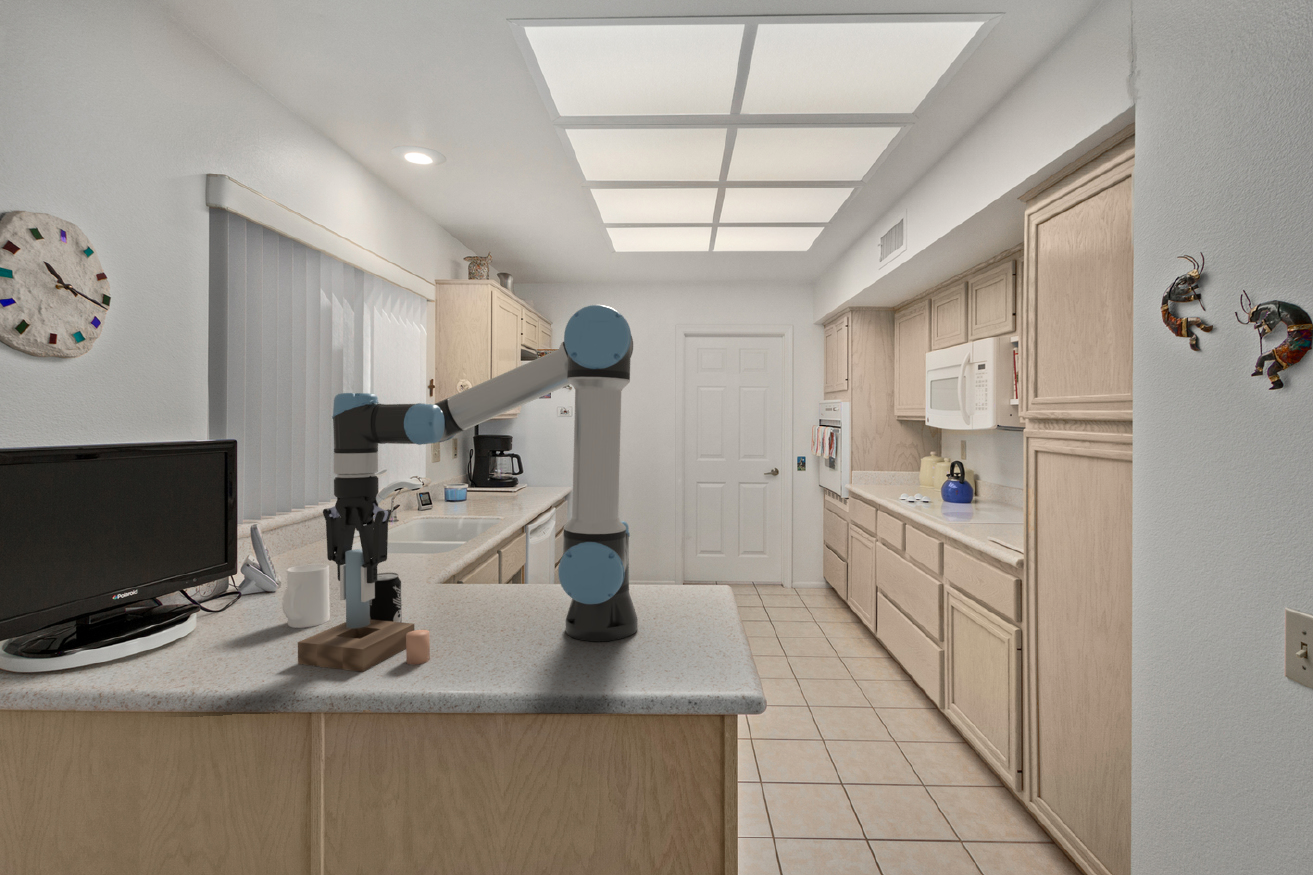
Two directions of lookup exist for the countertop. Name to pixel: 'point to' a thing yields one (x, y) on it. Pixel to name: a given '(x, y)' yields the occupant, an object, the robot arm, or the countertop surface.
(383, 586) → the beverage can
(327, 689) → the countertop surface
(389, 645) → the hole block
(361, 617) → the long dowel
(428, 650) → the short dowel
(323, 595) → the mug
